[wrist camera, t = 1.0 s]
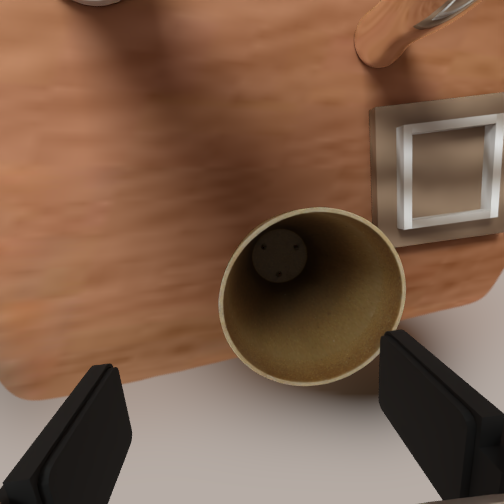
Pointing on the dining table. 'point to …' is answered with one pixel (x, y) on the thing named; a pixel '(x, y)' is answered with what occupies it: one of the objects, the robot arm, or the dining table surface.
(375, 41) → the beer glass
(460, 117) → the holder board
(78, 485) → the robot arm
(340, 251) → the plant pot
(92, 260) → the dining table surface
